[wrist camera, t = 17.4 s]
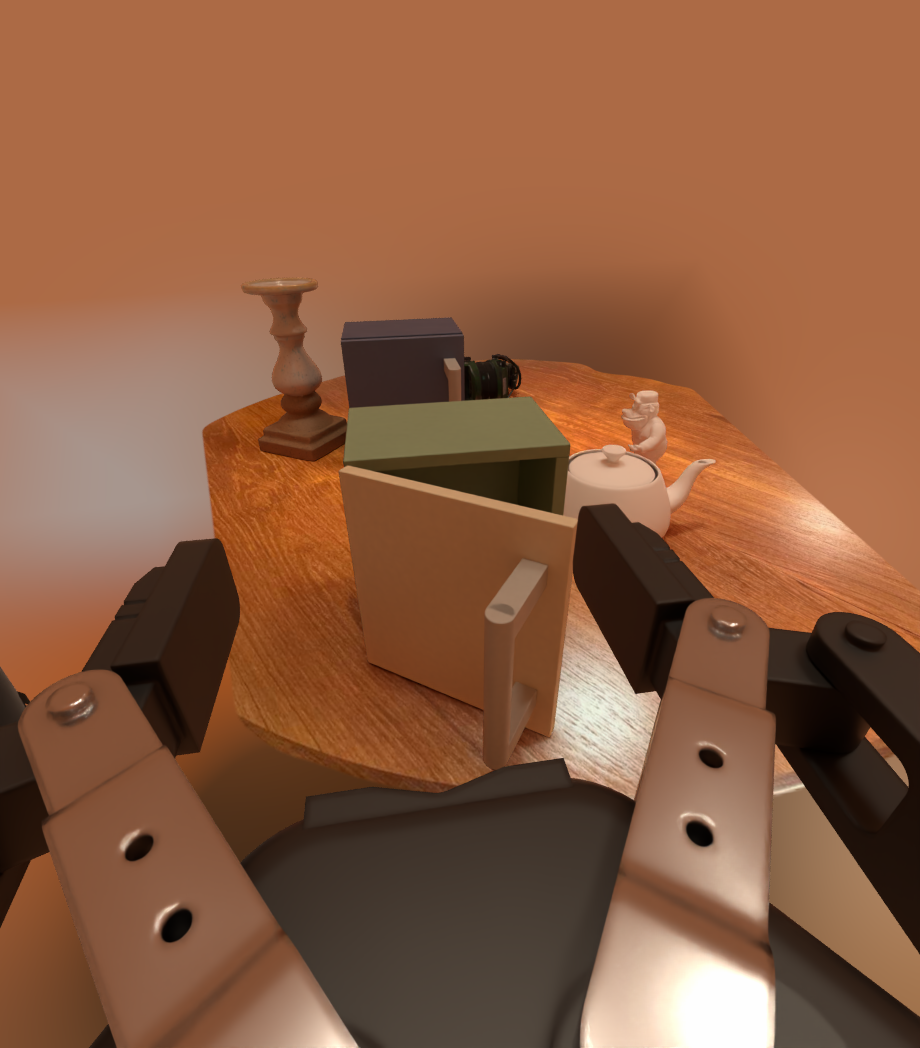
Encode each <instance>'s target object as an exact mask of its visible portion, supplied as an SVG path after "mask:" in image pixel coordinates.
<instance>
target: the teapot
mask: <svg viewBox="0 0 920 1048" xmlns="http://www.w3.org/2000/svg"><path fill="white" fill-rule="evenodd" d="M715 462H716V460H713V459H702V460H698V461H695V462H693V463H692V464H691V465H689V466H688V467H687V468H686V469H685V470H684V472H683V473H682V474H681V476H680V477H679V478H678V479H677V480H676V481H675V482H674V483H673V484H672V485H671V486H669V487H668V488H666V486H665V483H664V480H663V477H662V474H661V471H660V469H659V468H658V467H657V465H656V464H654V463H653V462H652V461H650V460H649V459H647V458H645V457H643V456H640V455H638V454H634V453H631V452H626V449H625V448H624V447H622V446H618V445H606V446H604V447H603V448H602V449H593V450H586V451H581V452H578V453H575V454H573V455H571V456H570V457H569V465H568V474H567V484H566V494H565V504H564V514H563V516H566V517H571V518H575V519H578V515H579V511H580V509H581V507H582V506H589V505H600V504H611V503H614V504H616V505H617V506H618V507H619V508H620V509H621V510H622V512H623V513H624V514H625V515H626V516H627V518H628V519H629V520H630V521H631V522H632V523H634V522H639V523H641V524H643V525H645V526H646V527H648V528H650V529H651V530H653V531H655V532H656V533H658V534H659V535H660V537H661V538H663V536H664V535H665V533H666V532H667V530H668V527H669V524H670V515H671V514H672V513H673V512H675V511H676V510H677V509H679V508H680V507H681V506H682V505H683V503H684V502H685V501H686V499H687V497H688V495H689V493H690V490H691V488H692V486H693V484H694V482H695V480H696V478H697V476H698V475H699V474H700V473H701V471H702V470H704V469H705V468H707V467H708V466H710V465H712V464H713V463H715Z"/></svg>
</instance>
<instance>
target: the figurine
mask: <svg viewBox="0 0 920 1048" xmlns="http://www.w3.org/2000/svg"><path fill="white" fill-rule="evenodd" d="M629 396H630V398H631V399H633V400H635V401H634V404H633V407H632V408H631V409H623V410H622V413H623V415H622V416H621V418H622V419H623V423H624V425H625V426H626V427H628V428H630V429H631V431H632V441H633V445H628V446H629V448H630V450H631V451H632V452H634V454H638V455H640V456H643V457H645V458H647V459H649V460H650V461H652V462H653V463H654V464H656V462H657V461H658V459H659V458H660V457H662V456H663V454H664V453H665V451H666V449H667V440H666V436H665V435H666V427H665V425H664V423H663V421H662V420H661V419H660V418H659V417H658V416H657V414H658V412H659V403H658V402H657V400H658V393H657V392H655V391H641V392H638V393H637V396H636V397H635V395H634V394H633V393H631V394H630V395H629Z"/></svg>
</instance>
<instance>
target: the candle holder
mask: <svg viewBox="0 0 920 1048" xmlns="http://www.w3.org/2000/svg"><path fill="white" fill-rule="evenodd" d="M317 287H318V282H317V281H316V280H315V279H310V278H273V279H262V280H255V281H249V282H246V283H243V284H242V285H241V288H242V290H243V292H244V293H247V294H252V295H261V297H262V299H263V301H264V303H265V304H266V305H267V306H268V307H269V308H270V310H271V312H272V314H273V325H272V327H271V329H270V334H271V335H273V336H274V338H275V340H276V341H277V342H278V344H279V346H280V352H279V356H278V359H277V362H276V364H275V366H274V369H273V373H272V382H273V385H274V387H275V388H276V389H277V390H278V391H280V392H281V393H283V394H284V396H283V398H282V400H281V406H282V408H283V409H284V410H285V411H286V412H287V413H286V414H284V415H283V416H282V417H281V418H280V420H279V421H277V422H276V423H274V424H272V425H270V426H268V427H266V428H265V429H264V430H263V432H264V435H263V436H262V437H261V438H259V439H258V441H259V446H260V450H262V451H266V452H270V453H275V454H279V455H284V456H289V457H293V458H298V459H303V460H308V461H315V460H317V459H319V458H321V457H323V456H324V455H326V454H328V453H329V452H331V451H333V450H334V449H336V448H338V447H339V446H341V445H343V444H344V443H345V441H346V432H347V422H346V419H345V418H342V417H338V416H333V415H329V414H328V413H326V412H325V411H323V410H320V409H319V407H320V406H321V403H322V400H321V397H320V396H319V395H318V394H317V393H316V392H315V390H316V389H317V388H318V387H319V386H320V384H321V382H322V376H321V372H320V370H319V368H318V367H317V365H316V364H315V363H314V362H313V361H312V359H311V358H310V357H309V356H308V354H307V353H306V351H305V349H304V347H303V339H304V337H305V336H304V333H305V332H307V328H306V327H305V326H304V325H303V323H302V322H301V320H300V319H299V316H298V307H299V305H300V303H301V301H302V294H303V293H304V292H308V291H312V290H315V289H316V288H317Z"/></svg>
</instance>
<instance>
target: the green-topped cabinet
mask: <svg viewBox="0 0 920 1048" xmlns="http://www.w3.org/2000/svg"><path fill="white" fill-rule="evenodd" d="M569 454H570V443H569V442H568V441H567V440H566V438H565V437H564V436H563V435H562V433H561V432H560V431H559V430H558V429H557V427H556V426H555V425H554V424H553V423H552V421H551V420H550V419H549V418H548V417H547V415H546V414H545V413H544V412H543V411H542V409H541V408H540V407H539V406H538V405H537V403H536V402H535V401H534V400H533V399H532V397H516V398H501V399H485V400H469V401H453V402H437V403H421V404H405V405H389V406H373V407H357V408H349V413H348V422H347V432H346V441H345V450H344V459H343V464H344V467H346V466H353V467H357V468H361V469H365V470H370V471H374V472H378V473H383V474H387V475H391V476H395V477H400V478H404V479H408V480H413V481H417V482H421V483H425V484H430V485H434V486H438V487H442V488H447V489H451V490H455V491H460V492H464V493H468V494H472V495H477V496H481V497H485V498H489V499H494V500H498V501H502V502H507V503H511V504H515V505H519V506H524V507H528V508H532V509H537V510H541V511H545V512H549V513H554V514H558V515H562V516H563V514H564V504H565V494H566V484H567V474H568V465H569Z"/></svg>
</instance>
